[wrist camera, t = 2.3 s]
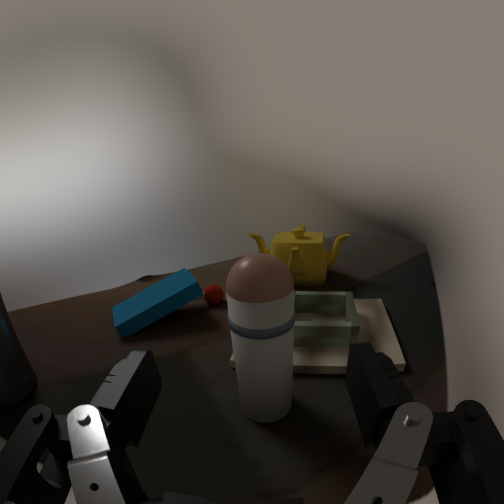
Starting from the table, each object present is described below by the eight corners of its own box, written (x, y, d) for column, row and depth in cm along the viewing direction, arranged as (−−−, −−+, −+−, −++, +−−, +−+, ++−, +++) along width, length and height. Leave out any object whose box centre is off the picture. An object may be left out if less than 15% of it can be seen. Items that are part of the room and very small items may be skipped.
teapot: (349, 277, 52) (351, 229, 49) (295, 299, 45) (295, 243, 43) (301, 259, 64) (300, 218, 61) (249, 274, 57) (246, 229, 55)
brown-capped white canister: (233, 419, 23) (210, 267, 18) (246, 384, 27) (232, 244, 23) (289, 425, 21) (292, 268, 17) (295, 388, 26) (297, 244, 22)
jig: (231, 367, 30) (226, 339, 29) (257, 303, 45) (256, 280, 44) (403, 371, 26) (412, 342, 24) (379, 305, 41) (383, 281, 39)
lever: (138, 360, 38) (234, 305, 45) (114, 327, 35) (218, 269, 42) (132, 338, 44) (217, 290, 50) (112, 307, 41) (203, 257, 47)
